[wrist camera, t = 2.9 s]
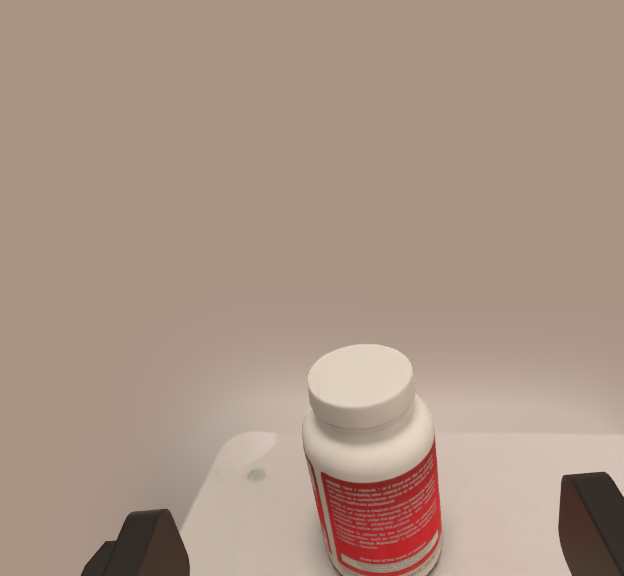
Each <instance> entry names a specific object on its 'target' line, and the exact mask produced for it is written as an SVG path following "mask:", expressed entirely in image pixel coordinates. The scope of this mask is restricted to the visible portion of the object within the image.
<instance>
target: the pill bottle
mask: <svg viewBox="0 0 624 576" xmlns="http://www.w3.org/2000/svg"><path fill="white" fill-rule="evenodd" d="M307 384H308V391H309V398H310V404H311V407H310V408H309V410H308V412H307V414H306V416H305V419H304V422H303V427H302V440H303V447H304V451H305V456H306V460H307V464H308V468H309V473H310V477H311V482H312V486H313V491H314V495H315V500H316V505H317V509H318V514H319V518H320V523H321V528H322V532H323V537H324V541H325V545H326V549H327V552H328V555H329V557H330V559H331V561H332V563H333V565H334V566H335V567H336V569H337V570H338V571H339V572H340V573H341V574H342V575H343V576H426V575H427V574H428V573H429V572H430V571H431V569H432V568H433V567H434V565H435V563H436V562H437V559H438V557H439V554H440V551H441V546H442V524H441V510H440V497H439V483H438V471H437V457H436V445H435V431H434V424H433V419H432V416H431V413H430V411H429V409H428V407H427V405H426V404H425V402H424V401H423V400H422V399H421V398H420V397H419V396H418V395H417V394H416V393H415V383H414V377H413V370H412V366H411V363H410V362H409V360H408V359H407V357H406V356H405V355H403V354H402V353H401V352H399V351H397V350H395V349H393V348H390V347H387V346H382V345H374V344H358V345H352V346H347V347H343V348H340V349H337V350H334V351H332V352H330V353H328V354H326V355H324V356H323V357H322V358H320V359H319V360H318V361H316V362H315V364H314V365H313V366H312V368H311V369H310V371H309V373H308V378H307Z"/></svg>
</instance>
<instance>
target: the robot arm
mask: <svg viewBox="0 0 624 576" xmlns="http://www.w3.org/2000/svg"><path fill="white" fill-rule="evenodd" d="M558 529H559V538H560V543H561V547H562V551H563V554H564V557H565V560H566V562H567V565H568V567H569V569H570V572H571V574H572V576H624V497H623V496H622V494H621V492H620V491H619V489H618V488H617V486H616V484H615V483H614V481H613V480H612V478H611V477H610V476H609V475H608V474H607V473H605V472H595V473H583V474H572V475H564V476H563V477H562V481H561V495H560V510H559V526H558ZM81 576H190V565H189V558H188V554H187V552H186V549H185V547H184V544H183V542H182V539H181V537H180V534H179V532H178V529H177V527H176V525H175V522H174V519H173V517H172V515H171V513H170V511H169V510H168V509H159V510H147V511H136V512H131V513H130V514H129V515H128V516H127V518H126V520H125V522H124V524H123V526H122V529H121V531H120V533H119V536H118V538H117V540H116V541H106V542H105V543H104V544H103V545H102V546H101V548H100V549H99V550H98V551H97V552H96V553H95V555H94V556H93V557H92V558H91V559H90V561H89V562H88V563H87V564H86V565H85V567H84V569H83V572H82V574H81Z"/></svg>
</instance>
